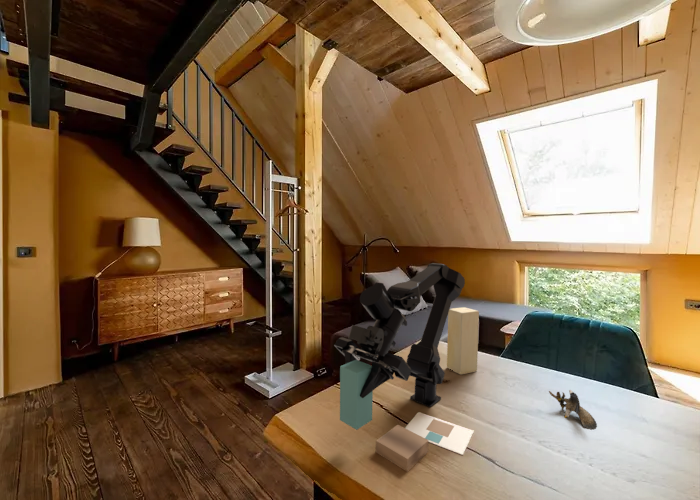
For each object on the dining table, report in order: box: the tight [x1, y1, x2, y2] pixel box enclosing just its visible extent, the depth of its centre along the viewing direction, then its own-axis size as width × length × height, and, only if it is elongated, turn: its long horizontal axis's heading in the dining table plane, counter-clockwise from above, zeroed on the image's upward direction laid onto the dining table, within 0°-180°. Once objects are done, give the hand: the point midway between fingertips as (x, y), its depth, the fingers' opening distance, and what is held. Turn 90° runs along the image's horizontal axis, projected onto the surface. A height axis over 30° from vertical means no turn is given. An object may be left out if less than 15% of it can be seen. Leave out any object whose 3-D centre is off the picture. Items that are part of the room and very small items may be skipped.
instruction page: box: [404, 411, 475, 456], centre depth 76 cm, size 10×14×1 cm
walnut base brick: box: [375, 424, 429, 473], centre depth 69 cm, size 8×8×3 cm
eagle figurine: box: [548, 389, 598, 431], centre depth 82 cm, size 8×8×10 cm
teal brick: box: [339, 360, 374, 431], centre depth 69 cm, size 5×5×12 cm
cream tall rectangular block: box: [446, 306, 480, 376], centre depth 111 cm, size 8×7×21 cm
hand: (351, 392), depth 68 cm, fingers closed on teal brick, 5 cm apart
